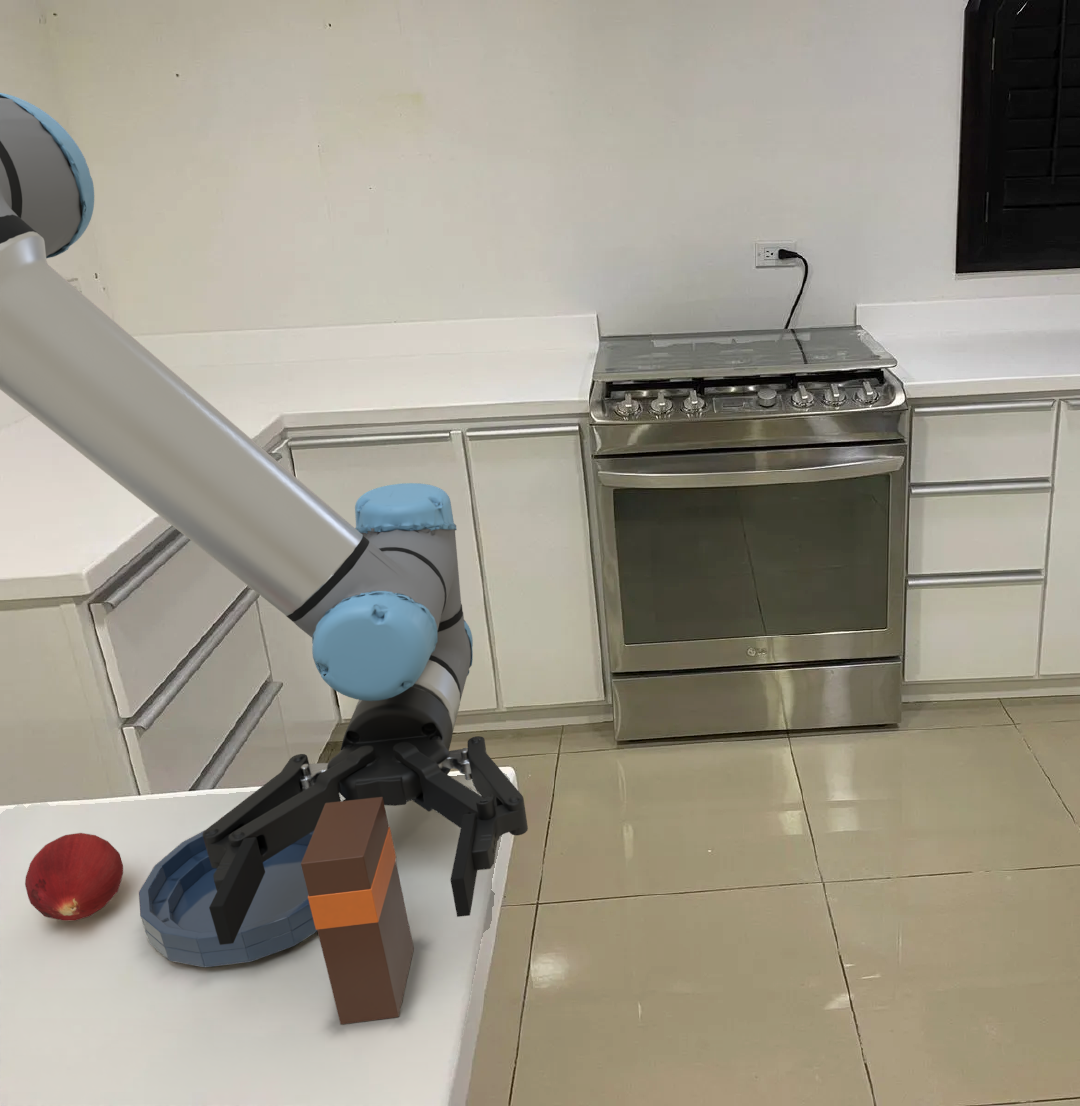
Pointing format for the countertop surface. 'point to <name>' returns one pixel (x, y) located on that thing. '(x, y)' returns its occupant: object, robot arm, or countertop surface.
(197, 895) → the bowl
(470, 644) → the robot arm
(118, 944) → the countertop surface
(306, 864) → the snack carton
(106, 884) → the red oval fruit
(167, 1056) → the countertop surface
